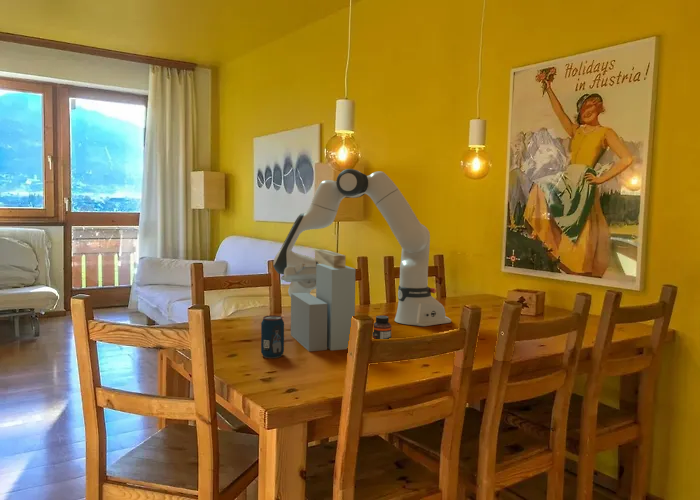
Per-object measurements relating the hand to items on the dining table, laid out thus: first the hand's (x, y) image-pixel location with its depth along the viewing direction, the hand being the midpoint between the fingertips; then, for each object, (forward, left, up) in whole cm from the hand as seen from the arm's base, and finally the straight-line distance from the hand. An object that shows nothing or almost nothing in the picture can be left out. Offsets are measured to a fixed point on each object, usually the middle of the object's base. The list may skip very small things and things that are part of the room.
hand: (315, 264), depth 205 cm
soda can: (+23, +30, -24) cm, 45 cm away
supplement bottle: (-11, +36, -24) cm, 45 cm away
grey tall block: (0, +22, -24) cm, 32 cm away
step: (+8, +18, -24) cm, 31 cm away
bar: (0, +16, +2) cm, 16 cm away
